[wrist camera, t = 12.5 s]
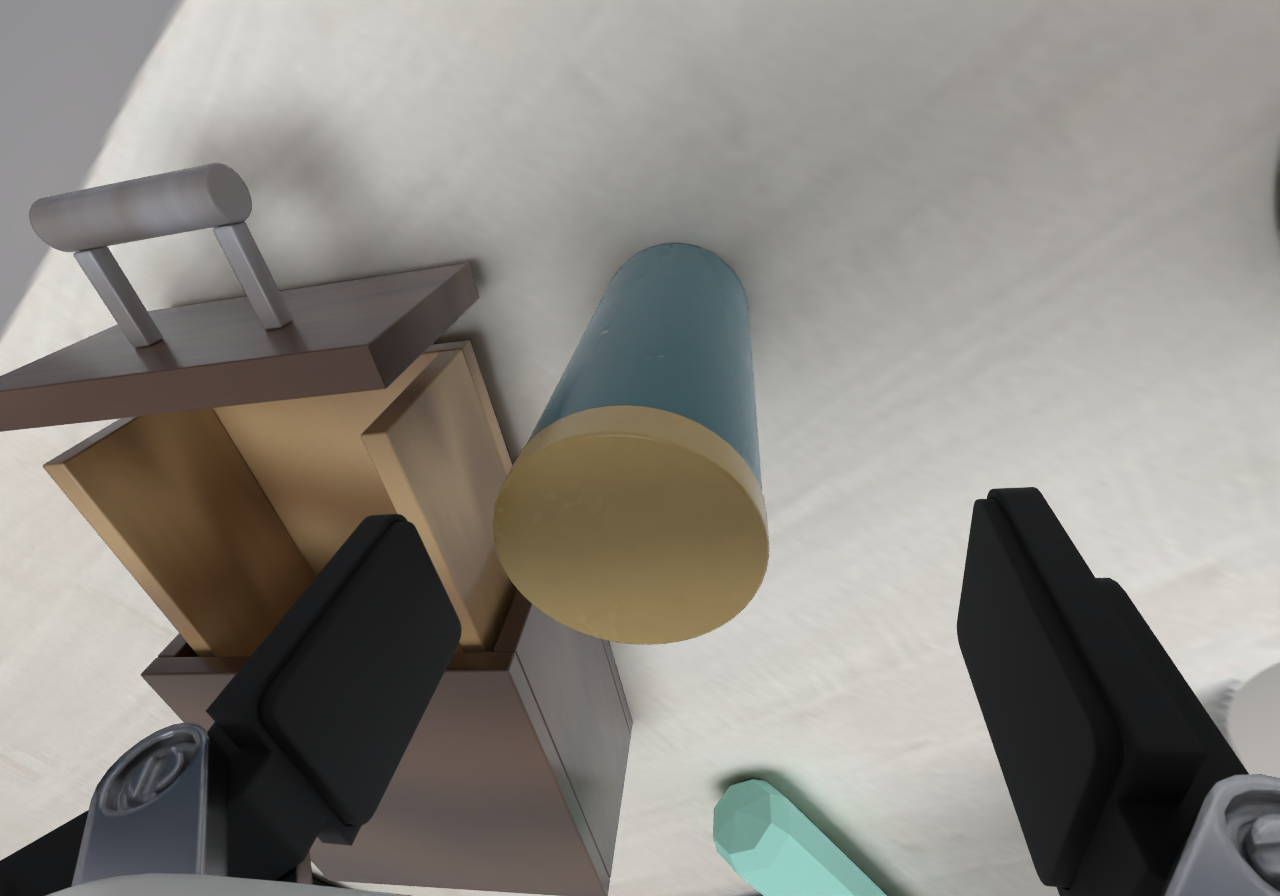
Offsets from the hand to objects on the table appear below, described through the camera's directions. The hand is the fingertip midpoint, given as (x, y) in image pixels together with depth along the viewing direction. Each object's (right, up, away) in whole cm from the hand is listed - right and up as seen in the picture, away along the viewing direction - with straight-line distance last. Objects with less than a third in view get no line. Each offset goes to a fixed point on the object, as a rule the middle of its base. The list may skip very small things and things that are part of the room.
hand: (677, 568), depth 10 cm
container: (+13, -25, +30) cm, 41 cm away
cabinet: (-9, -7, +21) cm, 24 cm away
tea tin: (+1, +7, +11) cm, 13 cm away
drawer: (-12, +3, +14) cm, 18 cm away
